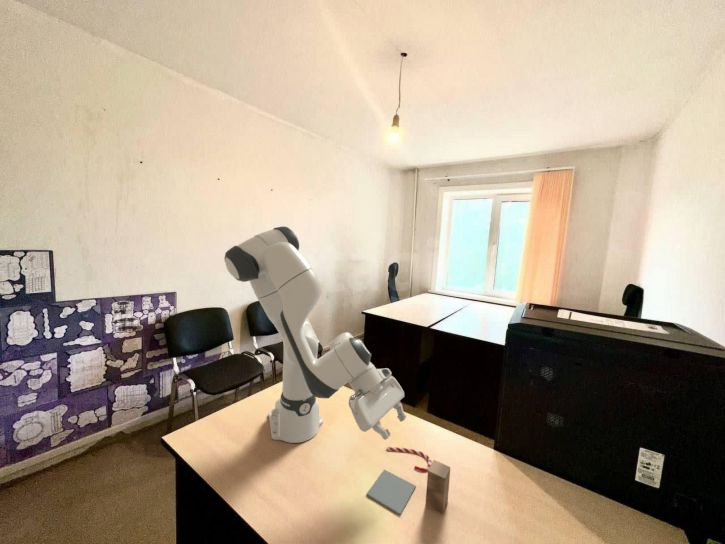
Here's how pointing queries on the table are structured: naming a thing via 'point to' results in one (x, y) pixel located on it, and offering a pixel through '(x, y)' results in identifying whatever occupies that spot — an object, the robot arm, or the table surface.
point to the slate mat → (391, 491)
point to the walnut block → (437, 486)
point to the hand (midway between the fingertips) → (396, 428)
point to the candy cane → (413, 453)
